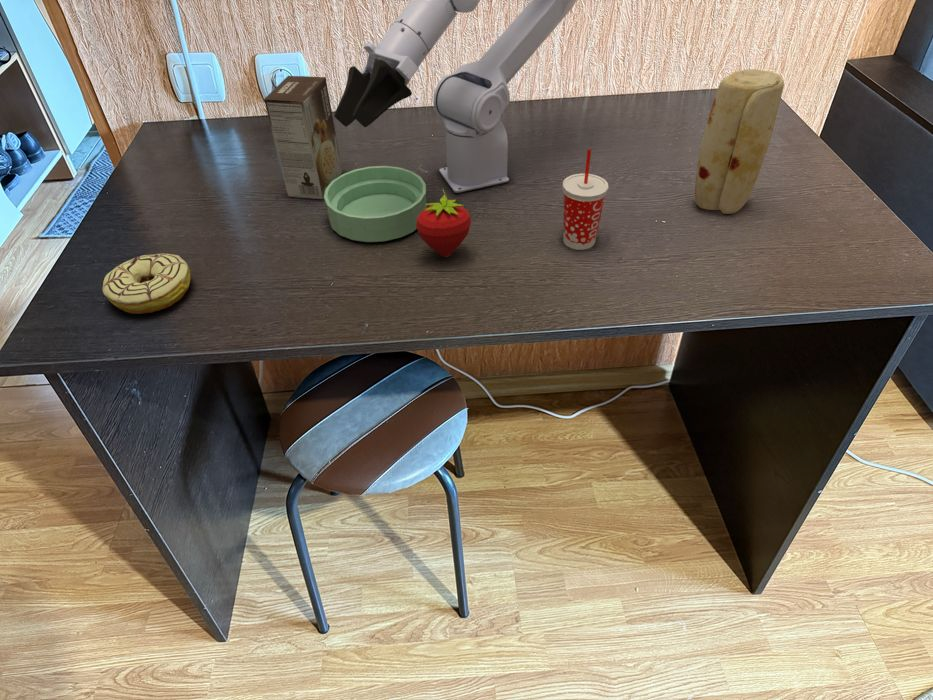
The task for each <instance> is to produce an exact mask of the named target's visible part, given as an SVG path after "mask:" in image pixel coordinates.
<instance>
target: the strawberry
mask: <svg viewBox="0 0 933 700" xmlns="http://www.w3.org/2000/svg"><path fill="white" fill-rule="evenodd" d="M442 192H443V195H442V196H441V198H439V202H427V204H425V205H427V206H428V207H427V208H425V209H424V210H423V211H422V212H421V213H420V214H419V215H418V217H417V222H416V228H417V229H416V230H417V232H418V234H419V236H420V239H421V240H422V241H423V242H424V243H425V244H426V245H427V246H428V247H429V248H430V249H432V250H433V251H435V252H436V253H438V254H439V255H440V256H441V257H443V258H447V257H450V256H451V255H453V253H454V252H455V251H456V250H457V249H458V248H459V247H460V246H461V245H462V243H463V242H464V240H465V239H466V237H467V236H468V234H469V231H470V228H471V224H472V219H471V215H470V212H469V211H468V209H466V208H464V207H465V204H460V203H456V201H457V199H448V197H447V195H446V192H445V190H444V188H442Z"/></svg>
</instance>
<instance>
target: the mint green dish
mask: <svg viewBox="0 0 933 700" xmlns="http://www.w3.org/2000/svg"><path fill="white" fill-rule="evenodd" d="M323 200H324V206H325V210H326V215H327V221H328V223H329V225H330V228H331V230H333V231H334V232H336V234H338V235H339V236H340V237H344V238H346V239H349V240H351V241H357V242H364V243H378V242H388V241H392V240H395V239H399V238H402V237H405V236H407V235H410V234H412V233H413V232H415V231H416V230H417V228H416V222H417V217H418V215H419V214H420V213H421V212H422V211H423V210H424V209H425V208H427V207H429V205H425V204H427V203H428V193H427V184H426V182H425V181H424V179H423V178H422V177H421V175H419V174H417V173H415V172H414V171H412V170H410V169H406V168H403V167H399V166H390V165H376V166H375V165H372V166H365V167H361V168H355V169H352V170H350V171H347V172H345V173H342V174H341V175H340V176H339V177H338V178H336V179H334V180H333V181H332V182H331V183H330V184H329V185H328V187H327V188H326V189H325V194H324V199H323Z"/></svg>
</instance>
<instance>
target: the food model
mask: <svg viewBox="0 0 933 700" xmlns="http://www.w3.org/2000/svg"><path fill="white" fill-rule="evenodd" d="M784 86H785V80H784V79H783V78H782V76H781V75H780V74H778V73H776V72H774V71H771V70H762V69H757V68H755V69H754V68H753V69H751V68H750V69H748V68H747V69H742V70H736V71H733V72H731V73H729V74H728V75H727V76H725V77H723V79H722V80H721V81H720V83H719V85H718V87H717V90H716V92H715V96H714V99H713V102H712V106H711V109H710V112H709V115H708V118H707V121H706V125H705V128H704V133H703V136H702V140H701V143H700V149H699V155H698V161H697V169H696V176H695V185H694V201H695V203H696V205H697V206H698V208H700V209H704V210H708V211H709V210H710V211H721V213H722V214H724V215H727V214H728V215H732V214H735V213H736V212H739V211H740V210H741V209H742V208H743V207H744V205H745V204H746V203H747V202H748V200H749V198H750V197H751V195H752V193H753V190H754V187H755V184H756V183H757V180H758V177H759V174H760V172H761V170H762V166H763V163H764V161H765V158H766V155H767V152H768V149H769V147H770V143H771V140H772V136H773V132H774V129H775V128H774V127H775V124H776V120H777V114H778V111H779V108H780V103H781V99H782V95H783V91H784Z"/></svg>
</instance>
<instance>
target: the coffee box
mask: <svg viewBox="0 0 933 700" xmlns="http://www.w3.org/2000/svg"><path fill="white" fill-rule="evenodd" d="M263 101H264V105H265V109H266V113H267V117H268V121H269V125H270V129H271V133H272V137H273V142H274V145H275V149H276V150H275V151H276V154H277V158H278V161H279V165H280V169H281V172H282V173H281V174H282V178H283V182H284V186H285V189H286V194H287V196H288V197H291V198H301V199H302V198H303V199H315V200H324V194H325V189H326V188H327V187H328V185H329V184H330V183H331V182H332V181H333V180H334V179H336V178H338V177H339V176H341V175H342V174H343V168H342V161H341V155H340V150H339V145H338V139H337V133H336V127H335V123H334V122H335V121H334V115H333V111H332V105H331V99H330V95H329V89H328V82H327V77H326V76H309V75H307V76H305V75H288V76H286V77H285V78H284V79H283V80H282V81H281V82H280V83H279V84H278V85H277V86H276V87H275V88H274V89H273V90H271V92H270V93H268V94H267V95H266V96H265V97H264V99H263Z"/></svg>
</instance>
